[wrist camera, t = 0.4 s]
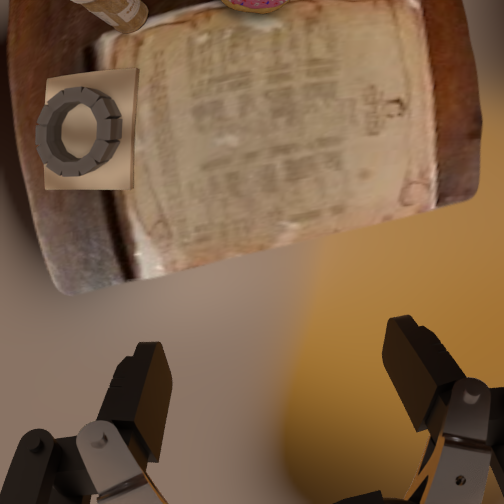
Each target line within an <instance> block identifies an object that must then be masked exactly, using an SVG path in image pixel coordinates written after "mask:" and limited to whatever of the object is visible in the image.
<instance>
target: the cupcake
mask: <svg viewBox="0 0 504 504" xmlns="http://www.w3.org/2000/svg"><path fill="white" fill-rule="evenodd" d="M221 1H222V2H223V3H224V4H225V5H226V6H228V7H229V8H232V9H234V10H238V11H243V12H255V13H260V14H265V13H270V12H273V11H275V10H277V9H279V8H280V7H282V6H283V5H285V4H286V3H287V2H288V1H290V0H221Z"/></svg>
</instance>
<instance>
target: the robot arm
mask: <svg viewBox="0 0 504 504" xmlns="http://www.w3.org/2000/svg"><path fill="white" fill-rule="evenodd" d="M382 359H383V364H384V367H385V369H386V371H387V373H388V375H389V377H390V379H391V381H392V382H393V385H394V386H395V388H396V391H397V393H398V395H399V397H400V399H401V401H402V403H403V404H404V407H405V409H406V411H407V413H408V415H409V417H410V419H411V422H412V423H413V426H414V428H415V430H416V432H419V431H423V430H426V429H428V431H429V433H430V436H429V437H428V440H427V443H426V446H425V449H424V452H423V455H422V458H421V461H420V464H419V467H418V469H417V472H416V475H415V477H414V480H413V482H412V484H411V486H410V488H409V489H408V491H407V493H406V495H405V497H404V499H397V498H383V497H382V494H381V491H380V490H378V491H375V492H371V493H367V494H363V495H359V496H355V497H350V498H346V499H343V500H341V501H338V502H336V503H334V504H481V502H482V498H483V494H484V490H485V485H486V480H487V475H488V471H489V465H490V466H491V468H492V470H493V473H494V475H495V477H496V480H497V482H498V484H499V487H500V489H501V492H502V494H503V497H504V387H499V388H488V386H487V385H486V384H485V383H484V382H482V381H481V380H479V379H476V378H469V377H468V378H467V377H466V376H465V374H464V373H463V372H462V370H461V369H460V368H459V366H458V364H457V363H456V362H455V360H454V359H453V358H452V356H451V355H450V354H449V352H448V351H446V348H445V347H444V345H443V344H441V342H440V340H439V339H438V338H437V336H436V335H435V334H434V333H433V332H432V331H430V330H429V329H427V328H426V327H424V326H418V325H417V323H416V322H415V321H414V319H413V318H412V317H411V316H410V315H404V316H399V317H393V318H390V319H389V320H388V323H387V328H386V334H385V339H384V344H383V351H382ZM171 392H172V375H171V371H170V368H169V365H168V362H167V359H166V356H165V353H164V350H163V347H162V344H161V343H160V342H139V343H138V345H137V347H136V350H135V352H134V355H133V356H126V357H125V358H124V359H123V360H122V362H121V363H120V364H119V365H118V366H117V368H116V370H115V373H114V375H113V379H112V380H111V383H110V388H108V390H107V393H106V395H105V399H104V401H103V403H102V406H101V409H100V411H99V414H98V417H97V419H96V421H93V422H90V423H88V424H86V425H85V426H84V427H83V428H82V429H81V430H80V431H79V433H78V435H77V436H73V437H66V438H57V439H54V437H53V436H52V435H51V434H50V433H49V432H48V431H46V430H44V429H34V430H31V431H29V432H27V433H26V434H25V435H24V436H23V437H22V438H21V440H20V442H19V444H18V447H17V449H16V452H15V454H14V457H13V459H12V462H11V465H10V468H9V470H8V473H7V476H6V478H5V481H4V484H3V487H2V490H1V493H0V504H90V500H91V495H92V494H99V497H97V503H98V504H168V502H167V501H166V500H165V498H164V497H163V496H162V494H161V493H160V492H159V490H158V488H157V487H156V486H155V484H154V483H153V481H152V480H151V478H150V477H149V475H148V474H147V473H146V468H147V463H148V462H155V463H158V462H159V457H160V452H161V446H162V440H163V435H164V429H165V424H166V418H167V413H168V408H169V402H170V397H171Z"/></svg>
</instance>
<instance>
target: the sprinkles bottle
mask: <svg viewBox="0 0 504 504" xmlns="http://www.w3.org/2000/svg"><path fill="white" fill-rule="evenodd" d="M71 1H73V2H75V3H78V4H81V5H83V6H84V7H85V8H87V9H88V10H89V11H90V12H92V13H93V14H95V15H96V16H98V17H99V18H100V19H102V20H103V21H105V22H106V23H108V24H109V25H112V26H113V27H114V28H115V29H116V30H117V31H119V32H122V33H130V32H134V31H135V30H137V29H139V28H140V27H141V26H142V25H143V24H144V23H145V21H146V19H147V16H148V8H147V6H146V5H145V4H144V3H143V2H141V1H140V0H71Z"/></svg>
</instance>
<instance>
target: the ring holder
mask: <svg viewBox="0 0 504 504" xmlns="http://www.w3.org/2000/svg"><path fill="white" fill-rule="evenodd" d="M138 78H139V69H138V68H126V69H114V70H104V71H95V72H87V73H79V74H73V75H66V76H60V77H54V78H49V79H47V85H46V98H45V105H44V107H43V109H42V111H41V114H40V116H39V118H38V120H37V123H38V124H40V125H37V126H36V145H39V146H38V147H37V148H36V149H37V151H38V153H39V155H40V157H41V160H42V162H43V164H44V179H45V190H61V189H91V190H131V189H133V175H134V137H135V117H136V102H137V90H138Z"/></svg>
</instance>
